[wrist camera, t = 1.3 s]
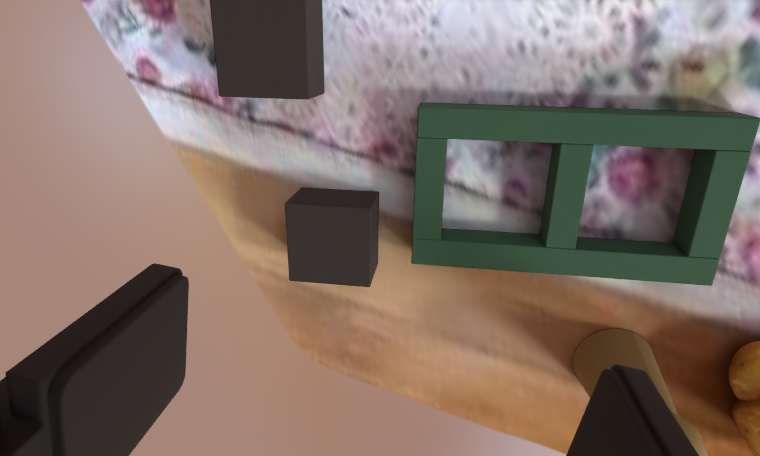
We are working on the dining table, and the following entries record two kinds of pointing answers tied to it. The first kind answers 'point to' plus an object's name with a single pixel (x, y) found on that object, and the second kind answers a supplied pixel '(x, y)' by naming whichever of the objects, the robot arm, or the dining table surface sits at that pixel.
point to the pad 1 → (268, 48)
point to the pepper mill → (628, 352)
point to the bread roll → (747, 393)
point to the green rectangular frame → (568, 184)
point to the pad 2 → (332, 236)
